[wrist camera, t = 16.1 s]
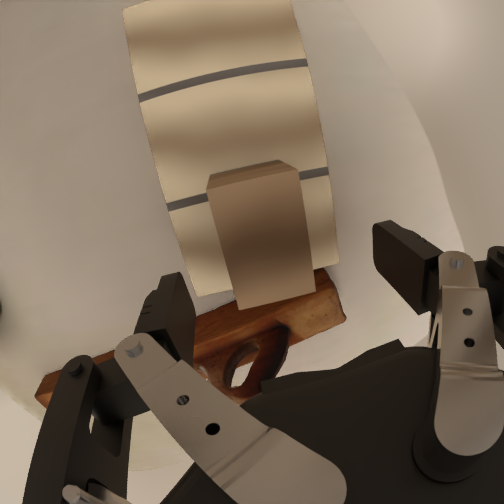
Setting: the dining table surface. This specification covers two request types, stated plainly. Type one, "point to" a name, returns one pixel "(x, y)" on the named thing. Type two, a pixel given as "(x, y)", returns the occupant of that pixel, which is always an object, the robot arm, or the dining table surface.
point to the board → (227, 114)
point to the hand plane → (248, 339)
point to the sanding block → (262, 232)
